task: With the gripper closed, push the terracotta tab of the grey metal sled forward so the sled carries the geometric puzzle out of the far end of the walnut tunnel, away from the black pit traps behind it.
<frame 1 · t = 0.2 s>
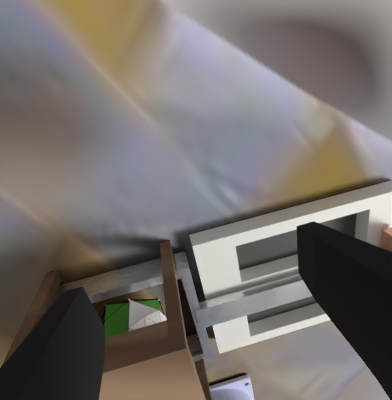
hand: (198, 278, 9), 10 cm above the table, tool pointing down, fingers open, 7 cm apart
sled: (236, 309, 20), point 3 cm above the table, slide at 0.0 cm
tunnel: (133, 312, 22), on the table
pit board: (295, 266, 23), on the table
geometric puzzle: (134, 310, 22), on the table
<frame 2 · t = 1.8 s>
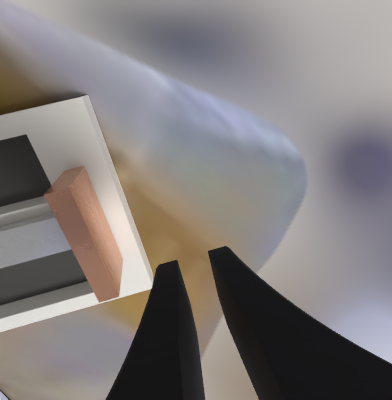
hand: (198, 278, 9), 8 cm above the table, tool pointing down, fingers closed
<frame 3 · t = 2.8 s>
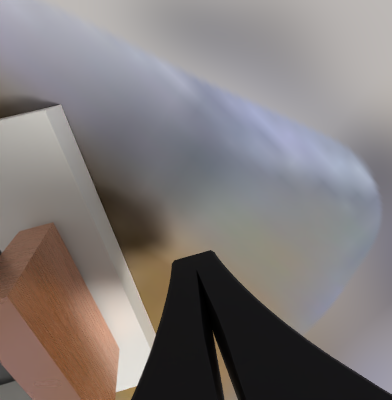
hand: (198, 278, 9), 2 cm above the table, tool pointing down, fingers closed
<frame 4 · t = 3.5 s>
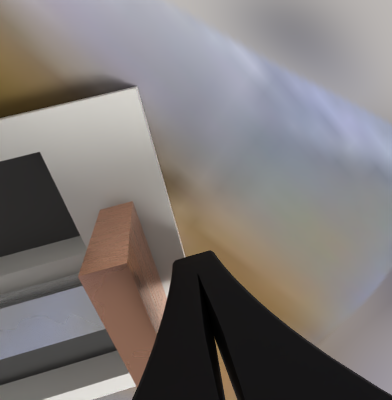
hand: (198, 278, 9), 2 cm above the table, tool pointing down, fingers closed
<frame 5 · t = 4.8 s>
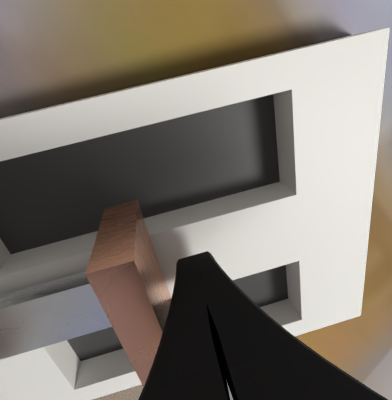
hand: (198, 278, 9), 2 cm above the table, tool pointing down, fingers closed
pit board: (159, 245, 11), on the table
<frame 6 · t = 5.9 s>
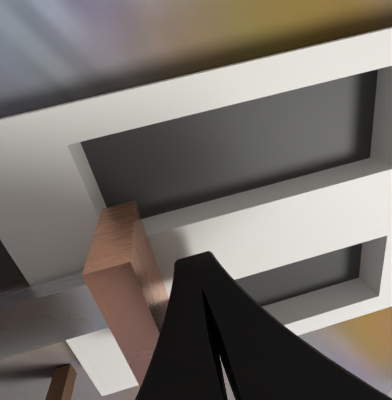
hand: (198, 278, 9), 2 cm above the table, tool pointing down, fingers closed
pit board: (249, 220, 11), on the table
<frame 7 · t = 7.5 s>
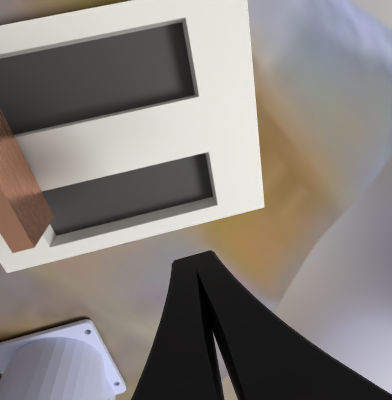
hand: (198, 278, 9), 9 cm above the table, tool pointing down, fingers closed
pit board: (111, 141, 16), on the table
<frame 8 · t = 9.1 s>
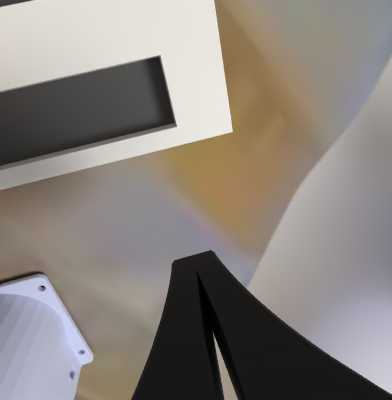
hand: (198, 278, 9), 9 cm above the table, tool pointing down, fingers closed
pit board: (47, 46, 13), on the table
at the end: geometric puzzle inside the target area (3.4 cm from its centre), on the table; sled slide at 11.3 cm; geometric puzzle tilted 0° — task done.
